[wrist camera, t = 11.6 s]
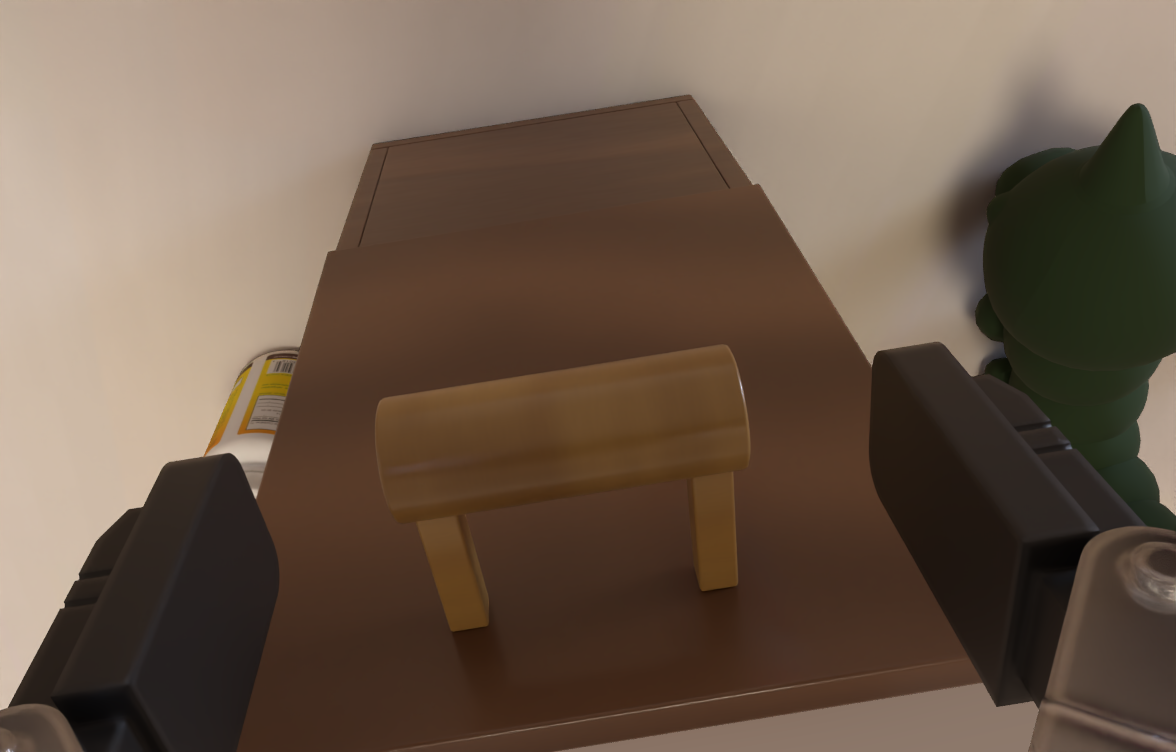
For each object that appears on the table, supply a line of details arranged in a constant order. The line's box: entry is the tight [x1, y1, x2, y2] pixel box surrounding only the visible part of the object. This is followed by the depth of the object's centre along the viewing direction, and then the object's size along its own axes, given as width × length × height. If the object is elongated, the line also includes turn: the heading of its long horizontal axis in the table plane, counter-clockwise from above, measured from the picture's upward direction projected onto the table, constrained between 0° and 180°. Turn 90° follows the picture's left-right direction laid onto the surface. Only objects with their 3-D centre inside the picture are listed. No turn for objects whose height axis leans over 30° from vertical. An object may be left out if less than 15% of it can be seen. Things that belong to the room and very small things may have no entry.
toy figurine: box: [975, 103, 1176, 532], centre depth 40 cm, size 9×19×25 cm
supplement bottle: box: [204, 350, 299, 499], centre depth 42 cm, size 6×6×10 cm
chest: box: [336, 95, 752, 251], centre depth 40 cm, size 18×14×12 cm
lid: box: [236, 184, 983, 752], centre depth 21 cm, size 18×14×6 cm
